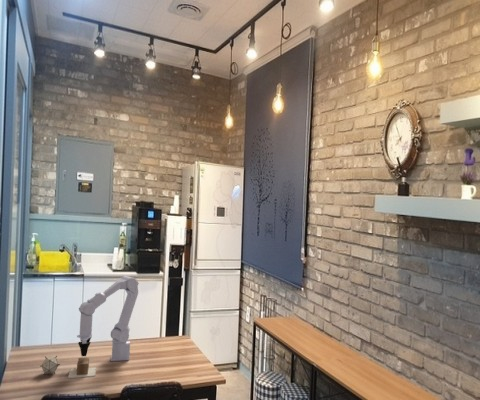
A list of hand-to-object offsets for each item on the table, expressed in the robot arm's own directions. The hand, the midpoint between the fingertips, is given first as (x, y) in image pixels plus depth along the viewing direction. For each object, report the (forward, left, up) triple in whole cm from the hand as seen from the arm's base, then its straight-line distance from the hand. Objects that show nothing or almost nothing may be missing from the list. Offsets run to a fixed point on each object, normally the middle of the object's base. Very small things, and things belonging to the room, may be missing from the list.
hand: (84, 353), depth 200 cm
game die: (+15, +5, -7) cm, 17 cm away
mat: (0, +8, -7) cm, 10 cm away
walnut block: (0, +1, -4) cm, 4 cm away
